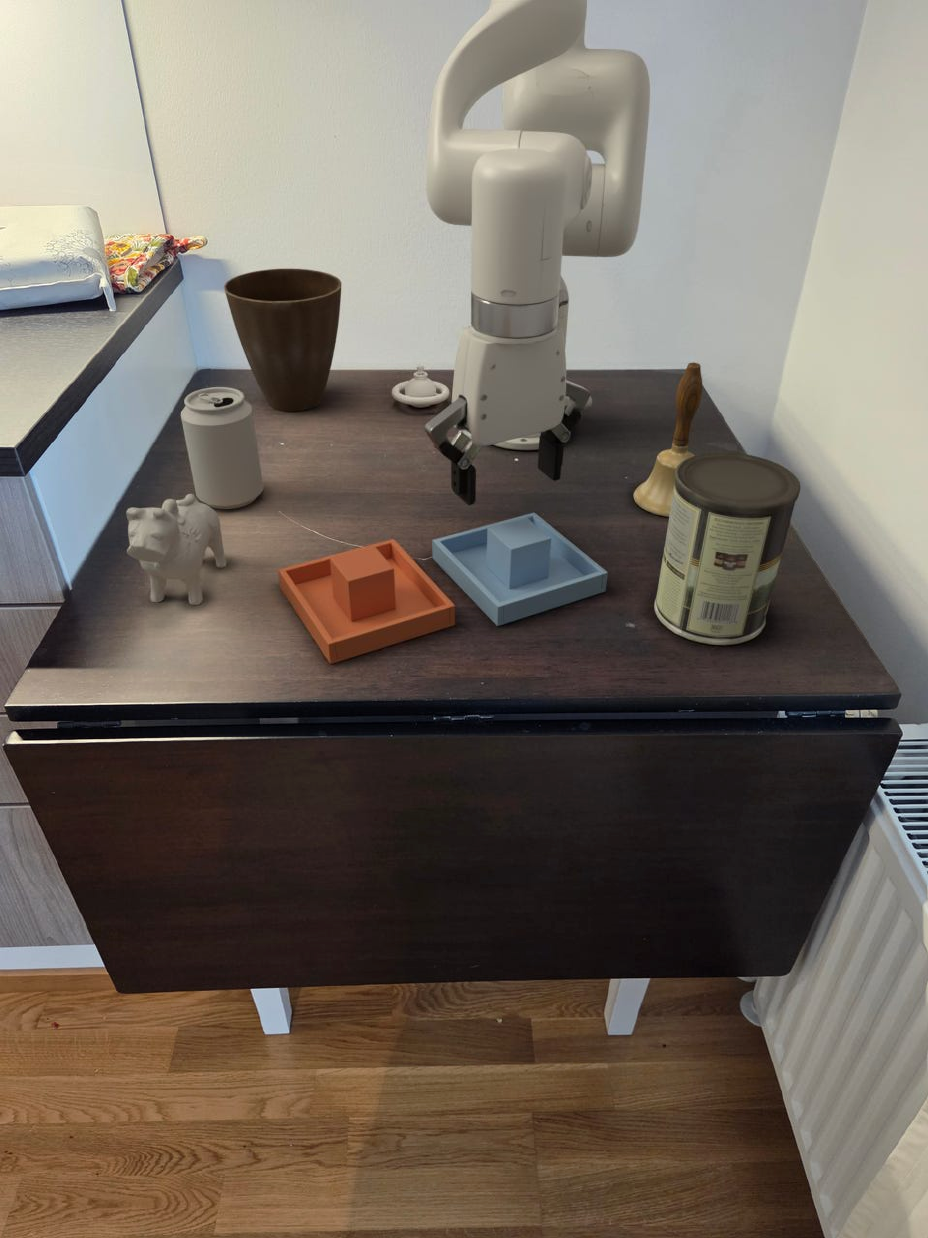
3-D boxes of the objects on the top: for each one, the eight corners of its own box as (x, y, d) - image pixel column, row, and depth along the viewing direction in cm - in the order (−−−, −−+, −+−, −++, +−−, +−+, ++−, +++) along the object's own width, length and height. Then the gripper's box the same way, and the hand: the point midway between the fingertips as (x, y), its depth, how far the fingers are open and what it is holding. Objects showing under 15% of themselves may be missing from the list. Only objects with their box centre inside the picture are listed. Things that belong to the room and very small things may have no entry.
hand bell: (720, 499, 100) (748, 362, 90) (682, 526, 95) (708, 384, 85) (658, 476, 104) (678, 344, 95) (619, 501, 99) (636, 363, 90)
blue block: (524, 555, 89) (526, 517, 86) (548, 577, 86) (551, 537, 83) (486, 566, 87) (487, 527, 84) (509, 589, 84) (511, 549, 81)
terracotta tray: (394, 557, 89) (393, 538, 88) (455, 625, 80) (455, 605, 79) (280, 588, 85) (277, 569, 83) (330, 664, 75) (328, 644, 74)
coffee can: (728, 575, 87) (757, 444, 79) (787, 635, 79) (826, 497, 71) (634, 591, 85) (654, 458, 76) (685, 655, 77) (713, 514, 68)
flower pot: (364, 387, 126) (357, 272, 117) (328, 428, 115) (317, 304, 105) (267, 377, 129) (253, 264, 120) (223, 417, 117) (203, 295, 108)
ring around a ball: (382, 410, 119) (437, 418, 117) (381, 369, 116) (437, 377, 114) (404, 391, 125) (457, 399, 123) (404, 352, 122) (457, 359, 120)
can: (248, 516, 96) (232, 412, 89) (185, 508, 97) (164, 406, 90) (274, 484, 102) (260, 385, 95) (214, 478, 103) (196, 380, 96)
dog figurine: (130, 626, 80) (102, 524, 73) (183, 551, 90) (162, 457, 83) (186, 630, 79) (162, 528, 73) (232, 555, 89) (215, 460, 83)
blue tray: (533, 530, 94) (534, 512, 93) (605, 591, 85) (608, 572, 83) (432, 558, 89) (431, 539, 88) (497, 626, 80) (498, 607, 78)
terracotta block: (376, 585, 84) (374, 545, 82) (396, 608, 81) (394, 568, 79) (333, 597, 83) (329, 557, 80) (351, 622, 79) (348, 581, 77)
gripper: (572, 284, 81) (559, 450, 92) (405, 315, 74) (411, 490, 85) (621, 309, 76) (601, 482, 87) (446, 344, 69) (447, 527, 80)
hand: (507, 486), depth 86 cm, fingers open, 9 cm apart
